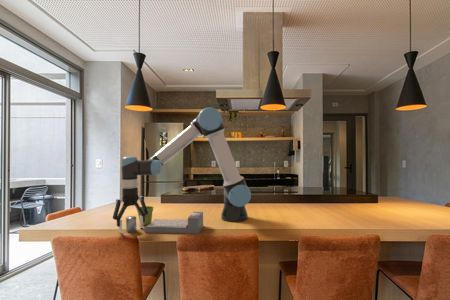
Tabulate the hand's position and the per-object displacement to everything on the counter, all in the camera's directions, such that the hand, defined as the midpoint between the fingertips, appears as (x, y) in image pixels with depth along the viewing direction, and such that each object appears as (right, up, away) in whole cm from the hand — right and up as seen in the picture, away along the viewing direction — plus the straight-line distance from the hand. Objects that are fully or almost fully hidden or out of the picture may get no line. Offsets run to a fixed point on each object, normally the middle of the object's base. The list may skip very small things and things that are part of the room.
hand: (131, 230), depth 159 cm
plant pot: (+4, 0, +14) cm, 14 cm away
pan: (+19, +3, +2) cm, 20 cm away
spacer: (0, 0, 0) cm, 0 cm away
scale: (+22, 0, +2) cm, 22 cm away
